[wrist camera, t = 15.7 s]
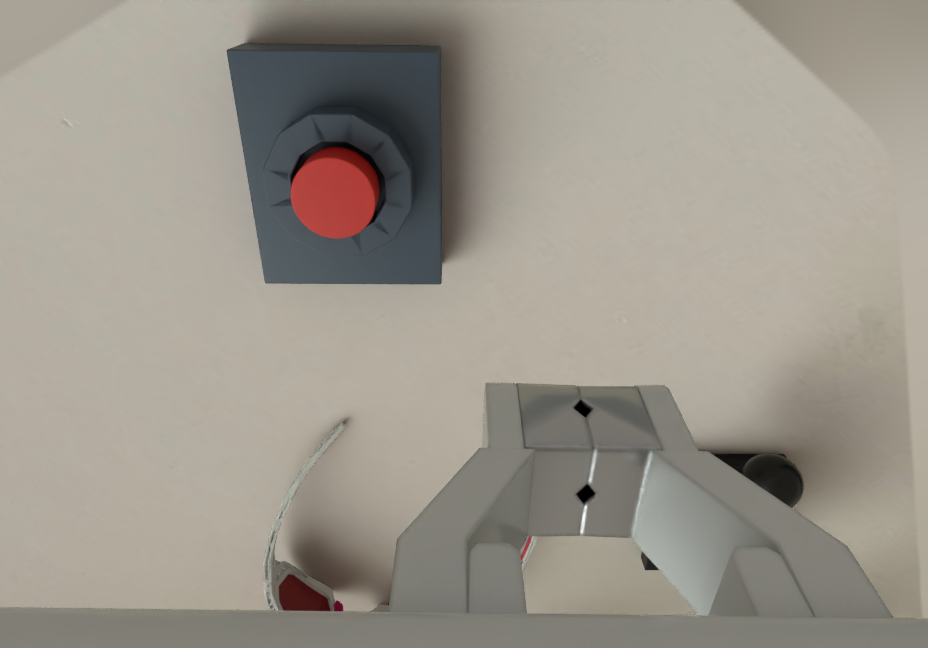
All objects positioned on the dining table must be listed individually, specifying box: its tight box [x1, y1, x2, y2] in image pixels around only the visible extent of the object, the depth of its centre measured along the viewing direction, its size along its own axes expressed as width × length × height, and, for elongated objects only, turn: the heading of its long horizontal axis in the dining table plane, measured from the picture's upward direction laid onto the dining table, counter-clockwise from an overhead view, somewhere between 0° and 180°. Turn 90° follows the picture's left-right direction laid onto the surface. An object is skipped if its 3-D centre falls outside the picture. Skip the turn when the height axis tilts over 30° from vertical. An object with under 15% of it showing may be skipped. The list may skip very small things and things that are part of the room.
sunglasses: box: [263, 422, 538, 612], centre depth 44 cm, size 17×17×5 cm
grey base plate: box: [227, 43, 442, 284], centre depth 29 cm, size 11×9×4 cm
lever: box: [741, 453, 804, 508], centre depth 35 cm, size 12×3×3 cm
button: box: [291, 147, 380, 239], centre depth 27 cm, size 4×4×2 cm
